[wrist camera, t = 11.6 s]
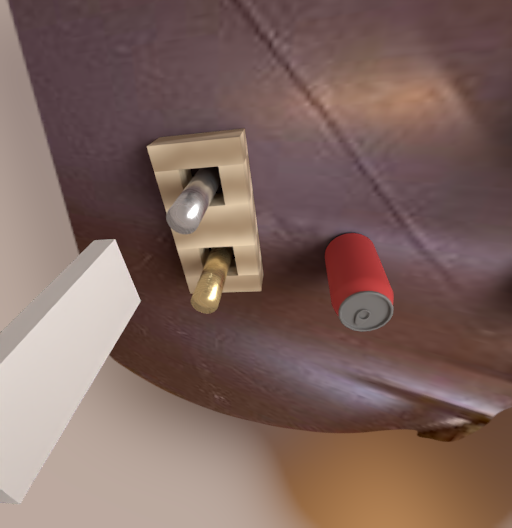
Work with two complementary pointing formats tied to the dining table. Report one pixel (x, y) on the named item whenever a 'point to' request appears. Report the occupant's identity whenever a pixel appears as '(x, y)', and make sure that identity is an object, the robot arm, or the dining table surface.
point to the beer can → (358, 283)
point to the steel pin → (194, 201)
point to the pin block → (213, 203)
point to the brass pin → (212, 280)
